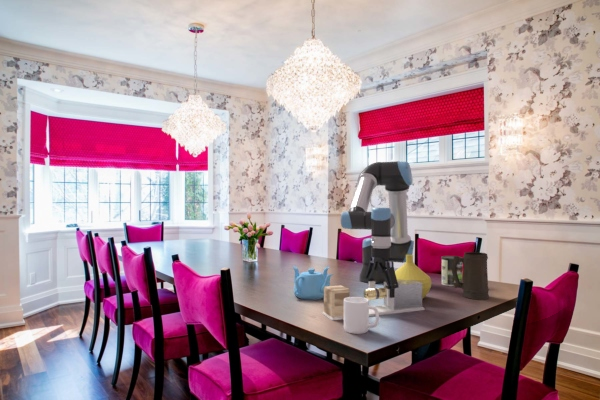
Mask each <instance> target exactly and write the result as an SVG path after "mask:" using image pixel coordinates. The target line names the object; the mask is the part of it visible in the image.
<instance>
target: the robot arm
mask: <svg viewBox="0 0 600 400" xmlns="http://www.w3.org/2000/svg"><path fill="white" fill-rule="evenodd" d="M411 169H412V168H411V166H410V163H409V161H399V160H398V161H377V162H374V163H371V164H370V165H367V166H366V167H365V168H363V170H362V171H361V172H360V173H359V175H358V176H357V179H356V182H357V187H356V189H355V192H354V195H353V198H352V200H351V203H350V207H349V208H348V209H349V210H346V211H343V212H342V211H341V214H340V224H341V227H342V229H347V230H371V234H370V235H371V237H367V238H364V239H363V240H362V248H361V249H362V267H361V269H360V273H359V277H358V278H359V279H358V280H359V282H363V283H367V284H368V287H367V288H368V289H373V288H376V284H384V282H386V283H387V285H388V288H387V306H394V297H395V288H398V287H399V286H398V282H397V278H396V274H395V271H396V270H395V265H394V264H395V263H401V264H404V263H405V262H406V255H413V254H414V244H415V241H414V240H412V238H411V235H409V233H408V209H407V208H408V207H407V191H408V190H409V189H410V187H411V186H412V184H413V178H412V177H413V174H412V170H411ZM377 186H384V189H385V191H386V192H388V204H389V205H388V207H372V208H371V211H368V208H369V205H370V201H371V198H372V196H373V195H372V194H373V191H374V189H376V188H377ZM413 256H414V255H413Z"/></svg>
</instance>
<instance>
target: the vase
mask: <svg viewBox="0 0 600 400" xmlns="http://www.w3.org/2000/svg"><path fill="white" fill-rule="evenodd" d="M395 274H396V278H397V281H400V280H414V281H418V282H421V283H422V300H423V299H424V298H425V297H426V296H427V295H428V294H429V291H430V290H431V287H432V279H431V277H430V276H429V275H428V274H427V273H425V272H424V271H423V269H421V268H420V267H418V266H417V265H416V264H415V263H414V255H406V262H405V263H403V264H402V265H401V266H400V267H398V268H397V269H396V270H395Z"/></svg>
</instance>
